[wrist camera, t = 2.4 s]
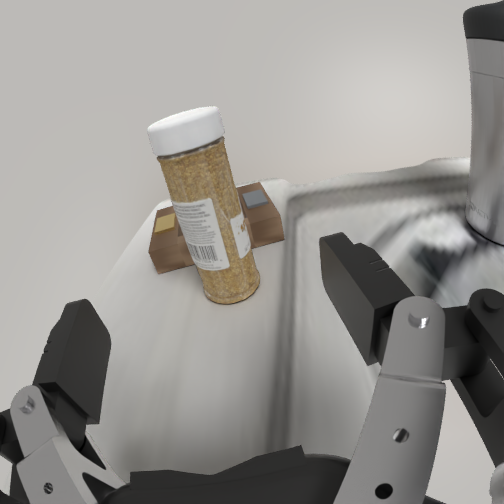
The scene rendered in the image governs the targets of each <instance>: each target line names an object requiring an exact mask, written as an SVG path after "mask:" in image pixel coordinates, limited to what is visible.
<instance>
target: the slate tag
mask: <svg viewBox="0 0 504 504" xmlns="http://www.w3.org/2000/svg"><path fill="white" fill-rule="evenodd" d="M242 195H243V198H244V201H245V203H246V206H247V208H248V209H250V208H254V207H258V206H262V205H266V204H268V200H267V199H266V197H265V195H264V194H263V192H262V190H261V189H260V190H256V191H252V192H248V193H245V194H242Z"/></svg>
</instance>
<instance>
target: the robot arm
mask: <svg viewBox="0 0 504 504" xmlns="http://www.w3.org/2000/svg"><path fill="white" fill-rule="evenodd" d="M463 24H464V30H465V36H466V38H467V39H466V42H467V50H468V59H469V70H470V81H471V104H472V140H471V159H470V173H469V183H468V193H467V201H466V209H465V216H466V219H467V221H468V222H469V224H470V225H471V226H472V227H473V228H474V229H475V230H476V231H477V232H479V233H480V234H482V235H483V236H485V237H487V238H488V239H490V240H492V241H495V242H497V243H500V244H503V245H504V0H503V1H501V2H497V3H493V4H486V5H480V6H475V7H472V8H469V9H468V10H466V11H465V12H464V14H463ZM319 246H320V258H321V271H322V280H323V284H324V287H325V290H326V292H327V294H328V296H329V298H330V300H331V301H332V303H333V305H334V307H335V308H336V310H337V312H338V314H339V315H340V317H341V319H342V321H343V323H344V324H345V326H346V328H347V330H348V331H349V333H350V335H351V337H352V339H353V340H354V342H355V344H356V346H357V348H358V350H359V351H360V353H361V355H362V357H363V359H364V361H365V362H366V364H367V366H369V365H371V364H374V363H377V362H379V363H380V365H381V371H380V374H379V376H378V380H377V383H376V387H375V390H374V394H373V397H372V401H371V404H370V407H369V411H368V414H367V417H366V420H365V423H364V426H363V429H362V432H361V435H360V438H359V441H358V444H357V446H356V449H355V452H354V455H353V457H352V460H349V459H347V458H343V457H339V456H334V455H327V454H304V452H303V449H302V446H301V445H300V446H296V447H293V448H289V449H285V450H281V451H277V452H273V453H269V454H265V455H261V456H256V457H254V458H252V459H250V460H248V461H245V462H243V463H241V464H239V465H236V466H234V467H232V468H229V469H227V470H224V471H222V472H220V473H217V474H214V475H203V474H194V473H186V472H179V471H172V470H159V471H141V472H130V483H128V484H126V483H125V482H124V481H123V480H122V479H121V478H119V477H118V476H117V474H116V473H115V472H114V471H113V469H112V468H111V467H110V465H109V464H108V462H107V461H106V459H105V458H104V456H103V455H102V453H101V452H100V450H99V449H98V447H97V446H96V444H95V442H94V441H93V439H92V438H91V436H90V435H89V434H88V433H87V432H86V431H85V430H86V425H89V424H99V421H100V413H101V405H102V398H103V391H104V385H105V378H106V372H107V366H108V361H109V355H110V350H111V338H110V334H109V332H108V330H107V328H106V327H105V325H104V324H103V322H102V321H101V319H100V317H99V316H98V314H97V313H96V311H95V309H94V308H93V306H92V304H91V303H90V302H89V301H88V300H87V299H82V300H78V301H74V302H70V303H67V304H66V306H65V308H64V310H63V313H62V315H61V318H60V320H59V321H58V322H57V324H56V325H55V326H54V327H53V329H52V330H51V332H50V335H49V337H48V340H47V344H46V346H45V348H44V354H42V357H41V360H40V363H39V365H38V368H37V371H36V375H35V378H34V381H33V384H32V385H30V386H26V387H24V388H23V389H21V390H20V391H19V392H18V393H17V394H16V395H15V397H14V398H13V401H12V403H11V408H10V409H8V410H5V411H3V412H0V455H1V456H2V457H4V458H5V459H7V460H8V461H10V462H11V463H13V465H12V474H11V484H10V495H9V496H8V495H6V494H4V493H3V492H2V491H1V490H0V504H446V503H443V502H440V501H438V500H435V499H433V498H431V497H428V496H426V495H425V494H426V490H427V487H428V483H429V479H430V476H431V471H432V468H433V463H434V459H435V455H436V450H437V445H438V440H439V435H440V429H441V423H442V417H443V411H444V403H445V394H446V385H445V383H442V382H441V381H443V380H449V379H450V380H451V382H452V384H453V386H454V387H455V389H456V391H457V392H458V394H459V396H460V398H461V400H462V401H463V403H464V405H465V407H466V409H467V411H468V413H469V414H470V416H471V418H472V420H473V422H474V424H475V426H476V428H477V430H478V432H479V434H480V436H481V438H482V440H483V442H484V444H485V446H486V448H487V450H488V452H489V454H490V457H491V459H492V461H493V463H494V465H495V468H496V469H495V470H494V473H493V474H492V477H491V481H490V490H489V493H490V495H491V497H492V504H504V379H503V378H504V295H503V294H502V293H500V292H498V291H496V290H493V289H480V290H477V291H475V292H474V293H473V294H472V295H471V297H470V300H469V303H468V305H466V306H459V307H451V308H442V307H441V306H440V305H439V304H438V303H437V302H435V301H434V300H432V299H429V298H426V297H422V296H415V295H414V294H413V293H412V292H411V291H410V289H409V288H408V287H407V286H406V285H405V284H404V283H403V281H402V280H401V279H400V278H399V277H398V276H397V275H396V273H395V272H394V271H393V270H392V269H391V268H389V266H388V264H387V263H386V262H385V261H384V260H382V258H381V257H380V256H379V254H378V253H377V252H376V251H375V250H374V249H372V248H370V247H368V246H366V245H364V244H362V243H358V244H353V243H352V242H351V241H350V240H349V238H348V237H347V236H346V235H345V234H344V233H343V232H340V233H336V234H333V235H329V236H325V237H321V238H320V240H319ZM490 359H491V360H492V361H493V363H494V364H495V366H496V367H497V369H498V370H499V372H500V373H501V375H502V376H503V378H502V376H501V375H500V373H499V372H498V370H497V369H496V367H495V366H494V364H493V363H492V361H491V360H490Z"/></svg>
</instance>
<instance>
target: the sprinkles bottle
mask: <svg viewBox="0 0 504 504" xmlns="http://www.w3.org/2000/svg"><path fill="white" fill-rule="evenodd" d="M147 132H148V136H149V140H150V143H151V147H152V150H153V153H154V154H155V155H157V156H158V157H157V160H158V161H159V162H160V164H161V168H162V171H163V174H164V177H165V180H166V183H167V187H168V190H169V193H170V196H171V202H172V205H173V207H174V210H175V213H176V216H177V219H178V221H179V224H180V227H181V230H182V232H183V235H184V238H185V241H186V243H187V246H188V249H189V251H190V254H191V257H192V259H193V261H194V263H195V264H196V266H197V269H198V272H199V275H200V277H201V279H202V282H203V285H204V287H203V288H204V292H205V294H206V296H207V297H208V298H209V299H210V300H212V301H214V302H217V303H224V304H230V303H236V302H238V301H241V300H244V299H246V298H248V297H249V296H250V295H252V294H253V293H254V291H255V290H256V288H257V287H258V285H259V282H260V275H259V272H258V270H257V269H256V266H255V262H254V258H253V254H252V250H251V243H250V239H249V235H248V231H247V227H246V224H245V220H244V216H243V212H242V208H241V204H240V201H239V197H238V193H237V189H236V186H235V184H234V181H233V177H232V173H231V169H230V165H229V161H228V157H227V153H226V149H225V146H224V145H225V144H224V137H223V135H224V133H225V131H224V126H223V122H222V118H221V115H220V112H219V109H218V108H217V107H213V106H212V107H203V108H197V109H192V110H188V111H184V112H181V113H178V114H175V115H172V116H169V117H166V118H164V119H162V120H160V121H157V122H156V123H154V124H152V125H150V126H149V127H148V129H147Z"/></svg>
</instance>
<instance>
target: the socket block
mask: <svg viewBox="0 0 504 504" xmlns="http://www.w3.org/2000/svg"><path fill="white" fill-rule="evenodd" d="M236 189H237V193H238V197H239V201H240V204H241V208H242V212H243V215H244V220H245V224H246V227H247V231H248V235H249V239H250V243H251V249H252V248H256V247H259V246H263V245H266V244H270V243H274V242H277V241H281V240H284V234H283V228H282V222H281V217H280V214H279V213H278V211H277V209H276V208H275V206H274V204H273V203H272V201H271V200H270V198H269V196H268V195H267V193H266V191H265V190H264V188H263V187H262V185H261V183H260V182H258V183H254V184H250V185H246V186H242V187H238V188H236ZM260 189H261V190H262V192H263V194H264V195H265V197H266V199H267V200H268V204H266V205H262V206H258V207H254V208H250V209H248V208H247V206H246V203H245V201H244V198H243V195H242V194H245V193H248V192H252V191H256V190H260ZM173 213H175V210H174V207H173V206H171V207H167V208H164V209H161V210H158V211H157V213H156V218H155V222H154V227H153V232H152V237H151V242H150V247H149V254H150V257H151V259H152V261H153V263H154V266H155V268H156V270H157V272H158V274H161V273H164V272H168V271H172V270H175V269H179V268H183V267H186V266H190V265H193V264H195V263H194V261H193V259H192V257H191V254H190V251H189V249H188V246H187V243H186V241H185V238H184V235H183V232H182V230H181V227H180V224H179V221H178V219H177V216H176V221H175V230H171V231H168V232H165V233H161V234H158V235H155V233H154V232H155V227H156V222H157V218H160V217H163V216H166V215H170V214H173ZM175 214H176V213H175Z"/></svg>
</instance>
